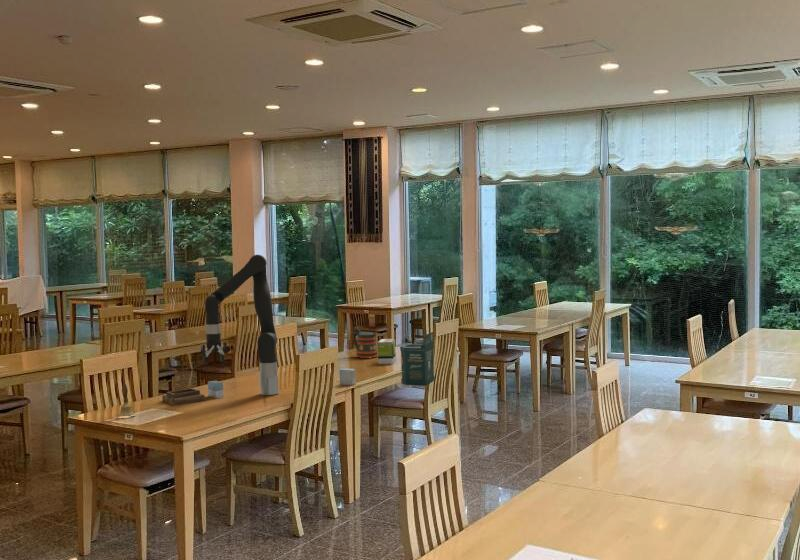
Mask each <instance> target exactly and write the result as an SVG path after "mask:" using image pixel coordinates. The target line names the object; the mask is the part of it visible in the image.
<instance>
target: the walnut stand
mask: <svg viewBox="0 0 800 560" xmlns="http://www.w3.org/2000/svg"><path fill="white" fill-rule="evenodd" d="M165 392H166V393H165V394H163V395H162V402H164V401H165V402H164V403H168V404H170V405H174V406H180V405H186V404H191V403H192V404H193V403H197V402H204V401H205V394H203V393H201V390H199V389H196V388H193V387H189V388H183V389H179V390H178V389H177V390H171V391H165Z"/></svg>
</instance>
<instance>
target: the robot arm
mask: <svg viewBox="0 0 800 560" xmlns="http://www.w3.org/2000/svg"><path fill="white" fill-rule="evenodd" d="M250 278H252V279H253V280H252V281H253V282H252V283H253V289H252V291H253V303H254V310H255V314H256V316H257V318H258V321H259V325H260V335H259V337H258V338H257V356H258V360H259V382H260V383H259V385H260V395H262V396H274V395H279V394H280V392H279V376H278V359H277V358H278V357H277V354H276V345H277V344H278V343H277V342H278V337H277V332H276V329H275V328H276V327H275V324H274V313H273V303H272V301H273V300H272V295H271V291H270V286H269V283H268V275H267V259H266V258H265V256H264V255H262V254H254V255H252V256H251V257H250V259H249V260H248V261H247V263H246V264H245V265H244V266H243V267H242V268H241V269H240V270H238V272H236V273H235V274H234V275H233V276H231V277H229V278H228V279H227V280H226V281H225V282H224V283H222V284H221V285H220V286H219V287H218V288H217V289H216V290H214V292H212V293H211V294H209V295H208V296H207V297H206V298H205V300H204V306H205V307H204V309H205V320H206V322H205V334H206V335H205V338H206V339H205V340H206V344H203V343H202V344H200V356H202V357H204V358H203V359H204V363H205V364H207V365H208V364H209V363H210V362H209V355H210V354H211V353H214V352H218V353H219V361H220V363H222V362H224V360H225V354H227V353H228V346H227V345H228V343H227V342H226V341H223V342H222V337H221V336H222V333H221V323H220V322H221V320H220V319H221V318H220V313H219V312H220V311H219V305H220V304H221V303H222V302H224V300H226V299H227V298H229V297H230V296H231V295H232V294H233V293H235V292H236V291H237V290H238V289H239V288H240V287H241V286H242V285H243V284H244V283H245V282H246V281H247V280H248V279H250ZM221 346H222V348H221Z"/></svg>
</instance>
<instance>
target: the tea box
mask: <svg viewBox="0 0 800 560" xmlns="http://www.w3.org/2000/svg"><path fill="white" fill-rule="evenodd" d="M376 349H377V363H378V365H393V364H394V363H395V362H396V360H397V352H396V339H395V338H380V339H379V340H378V341H376Z"/></svg>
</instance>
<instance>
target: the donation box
mask: <svg viewBox="0 0 800 560" xmlns="http://www.w3.org/2000/svg"><path fill="white" fill-rule="evenodd" d="M423 340H424V341H423V343H409V344H403V345H401V346H399V347H400V348H399V349H400V363H401V367H400V368H401V379H400V383H401V384H403V385H405V386H421V387H423V386H424V387H425V386H426V387H427V386H428V385H430V384H431V383H433V382H435V379H436V378H435V371H434V370H435V369H434V365H435V363H434V348H435V344H434V342H435V341H434V332H433V331H432V332H430V333H427V334H425V335H424V336H423Z"/></svg>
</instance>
